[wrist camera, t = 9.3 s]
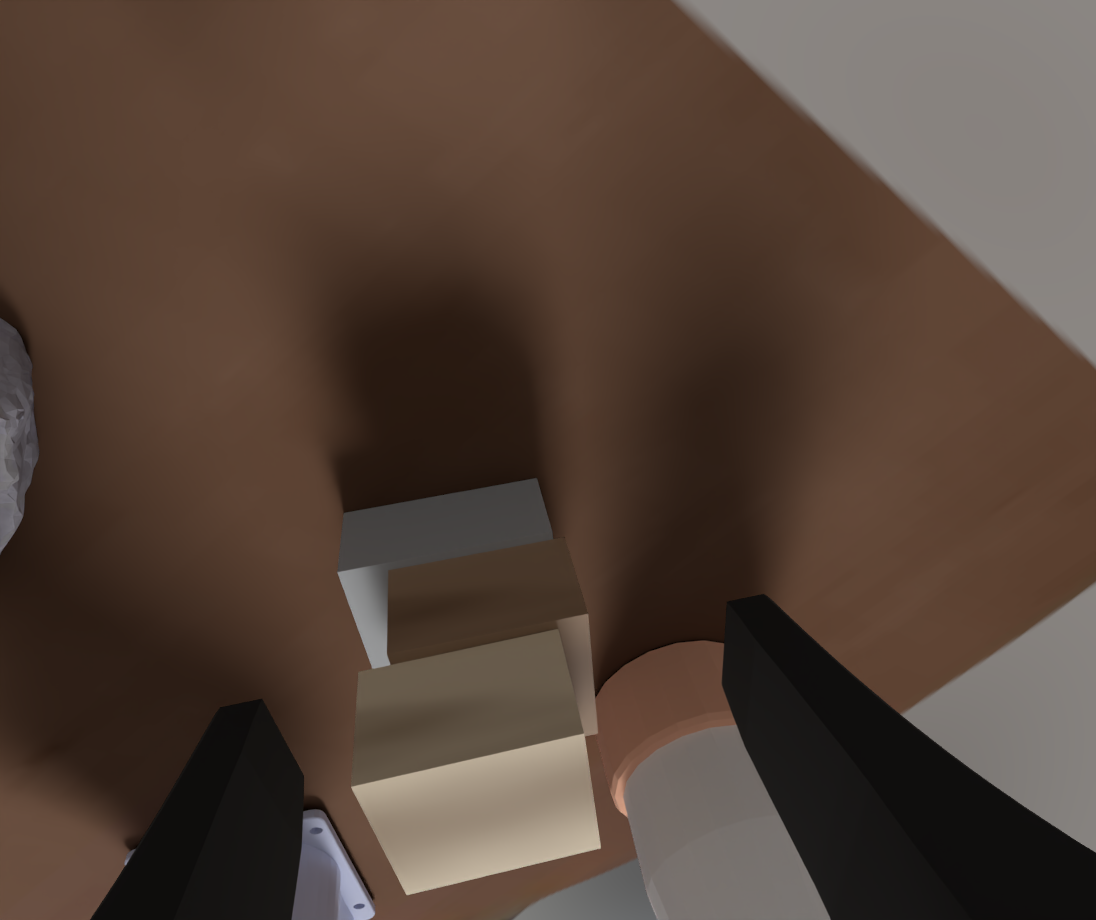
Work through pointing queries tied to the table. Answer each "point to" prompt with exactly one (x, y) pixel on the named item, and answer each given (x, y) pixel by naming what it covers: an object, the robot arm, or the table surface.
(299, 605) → the table surface
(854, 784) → the robot arm
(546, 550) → the walnut block
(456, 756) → the oak block
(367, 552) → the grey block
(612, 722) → the pepper shaker
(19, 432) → the stone block
